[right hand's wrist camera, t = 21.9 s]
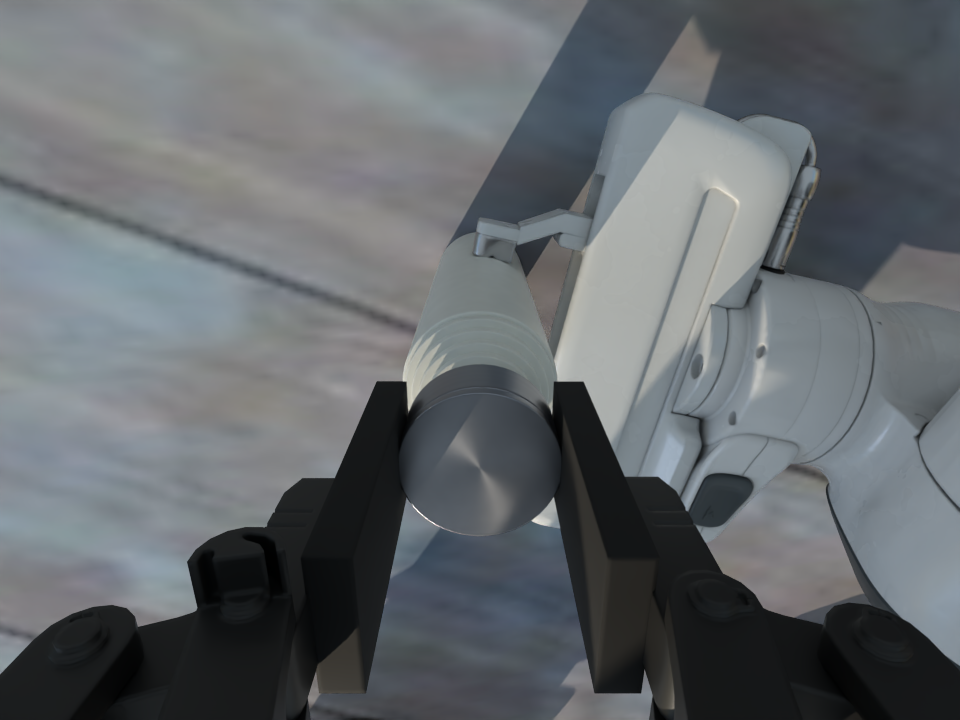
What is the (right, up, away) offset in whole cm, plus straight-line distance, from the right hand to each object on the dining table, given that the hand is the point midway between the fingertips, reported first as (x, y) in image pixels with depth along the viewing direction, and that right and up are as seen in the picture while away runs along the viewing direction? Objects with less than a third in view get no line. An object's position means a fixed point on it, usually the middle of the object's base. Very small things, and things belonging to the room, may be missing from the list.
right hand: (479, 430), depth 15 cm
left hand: (-1, +4, +11) cm, 12 cm away
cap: (0, -1, -1) cm, 2 cm away
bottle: (0, +7, +18) cm, 19 cm away
